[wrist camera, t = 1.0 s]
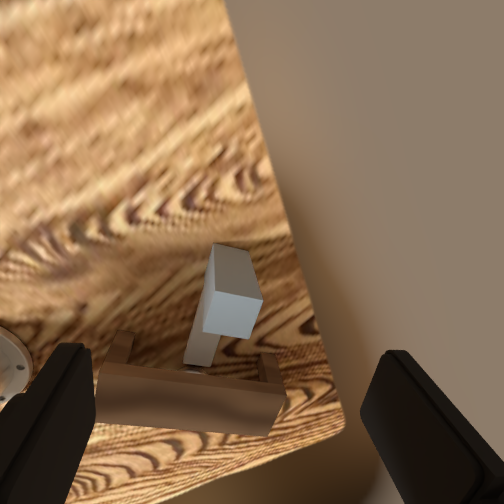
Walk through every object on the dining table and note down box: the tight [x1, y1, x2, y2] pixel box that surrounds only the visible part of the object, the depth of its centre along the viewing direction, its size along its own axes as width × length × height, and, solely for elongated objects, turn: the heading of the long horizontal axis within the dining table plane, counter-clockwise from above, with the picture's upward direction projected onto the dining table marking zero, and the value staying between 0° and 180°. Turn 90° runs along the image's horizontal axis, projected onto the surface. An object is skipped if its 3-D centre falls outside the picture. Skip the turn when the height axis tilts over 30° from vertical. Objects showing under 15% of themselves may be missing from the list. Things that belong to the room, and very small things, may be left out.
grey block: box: [183, 243, 263, 367], centre depth 30 cm, size 16×4×10 cm, turn 162°
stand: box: [95, 330, 287, 437], centre depth 35 cm, size 7×20×6 cm, turn 73°
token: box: [177, 366, 207, 375], centre depth 39 cm, size 5×5×2 cm
